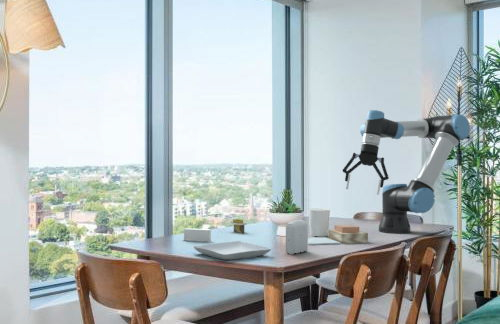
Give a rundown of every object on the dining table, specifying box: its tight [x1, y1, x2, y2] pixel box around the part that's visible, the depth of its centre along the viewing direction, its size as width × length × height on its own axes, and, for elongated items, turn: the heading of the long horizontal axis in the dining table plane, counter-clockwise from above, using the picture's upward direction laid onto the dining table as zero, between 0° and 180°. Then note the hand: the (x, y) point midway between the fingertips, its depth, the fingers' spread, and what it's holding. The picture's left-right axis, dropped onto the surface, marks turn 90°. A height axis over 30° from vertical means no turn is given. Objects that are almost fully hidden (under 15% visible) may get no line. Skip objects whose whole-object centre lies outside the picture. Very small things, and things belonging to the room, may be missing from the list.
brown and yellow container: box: [230, 218, 248, 234], centre depth 270 cm, size 12×18×7 cm, turn 40°
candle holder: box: [308, 208, 331, 238], centre depth 261 cm, size 10×10×12 cm
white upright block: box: [285, 219, 309, 255], centre depth 214 cm, size 10×4×12 cm, turn 140°
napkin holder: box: [183, 227, 212, 243], centre depth 243 cm, size 15×11×6 cm
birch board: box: [327, 229, 369, 245], centre depth 245 cm, size 12×14×4 cm
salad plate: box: [193, 240, 272, 261], centre depth 207 cm, size 21×21×3 cm
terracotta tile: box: [333, 224, 360, 233], centre depth 245 cm, size 8×8×2 cm
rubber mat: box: [308, 236, 341, 246], centre depth 242 cm, size 14×16×1 cm
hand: (362, 191), depth 251 cm, fingers open, 13 cm apart
